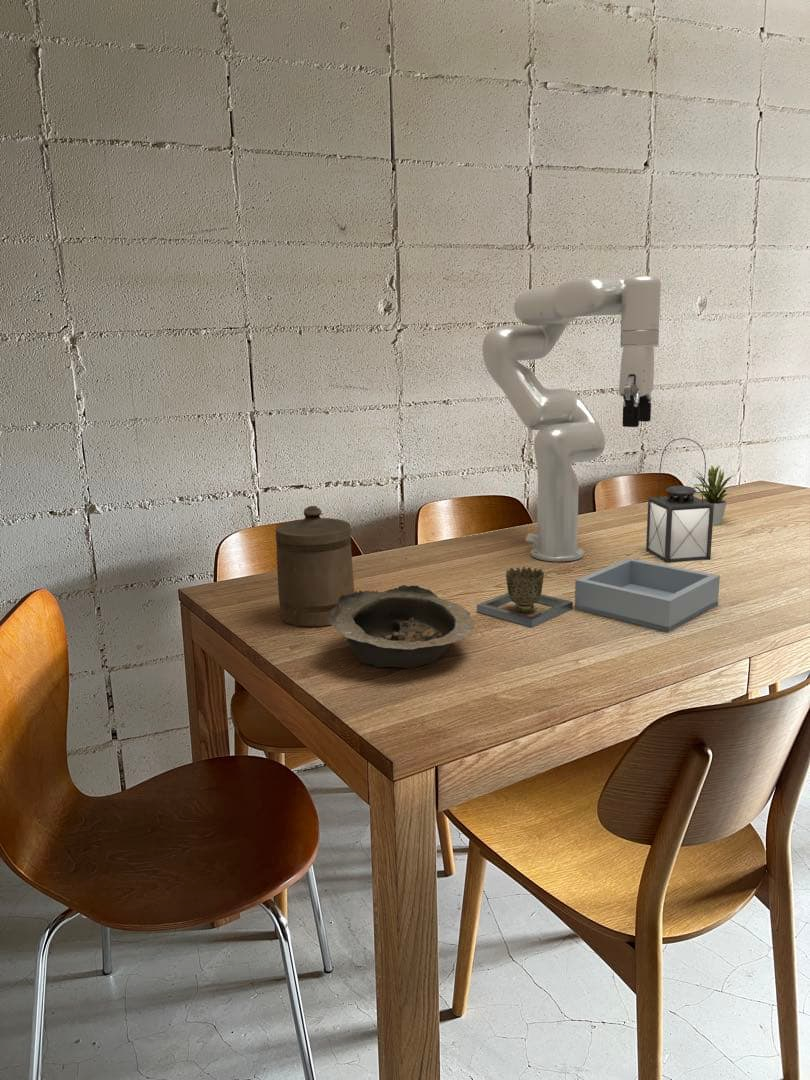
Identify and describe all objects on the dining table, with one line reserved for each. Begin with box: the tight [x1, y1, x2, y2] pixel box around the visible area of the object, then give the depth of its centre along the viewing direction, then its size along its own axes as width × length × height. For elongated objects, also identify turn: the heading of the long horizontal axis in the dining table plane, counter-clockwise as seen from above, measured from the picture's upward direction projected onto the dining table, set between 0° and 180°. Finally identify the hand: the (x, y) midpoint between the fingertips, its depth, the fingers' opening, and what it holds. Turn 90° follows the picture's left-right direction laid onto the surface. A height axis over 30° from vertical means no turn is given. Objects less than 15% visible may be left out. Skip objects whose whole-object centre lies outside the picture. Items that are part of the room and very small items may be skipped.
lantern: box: [645, 437, 714, 564], centre depth 198 cm, size 11×11×28 cm
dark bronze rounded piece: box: [505, 566, 545, 614], centre depth 166 cm, size 8×7×8 cm
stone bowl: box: [327, 585, 475, 670], centre depth 146 cm, size 25×25×9 cm
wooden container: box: [275, 505, 355, 628], centre depth 165 cm, size 15×15×22 cm
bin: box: [574, 557, 721, 633], centre depth 166 cm, size 20×20×6 cm
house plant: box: [689, 464, 737, 527], centre depth 230 cm, size 14×14×16 cm
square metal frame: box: [476, 592, 574, 628], centre depth 166 cm, size 13×13×2 cm
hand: (636, 423), depth 176 cm, fingers open, 9 cm apart
